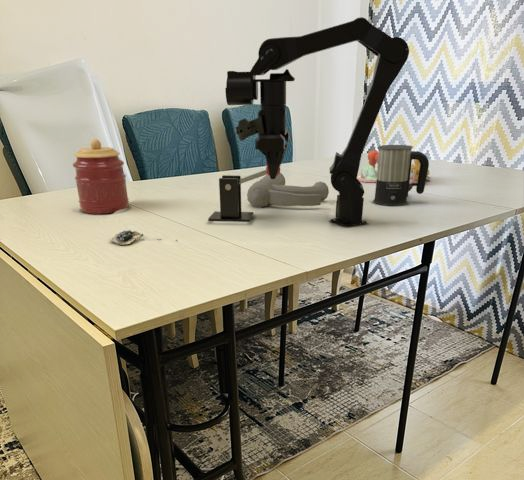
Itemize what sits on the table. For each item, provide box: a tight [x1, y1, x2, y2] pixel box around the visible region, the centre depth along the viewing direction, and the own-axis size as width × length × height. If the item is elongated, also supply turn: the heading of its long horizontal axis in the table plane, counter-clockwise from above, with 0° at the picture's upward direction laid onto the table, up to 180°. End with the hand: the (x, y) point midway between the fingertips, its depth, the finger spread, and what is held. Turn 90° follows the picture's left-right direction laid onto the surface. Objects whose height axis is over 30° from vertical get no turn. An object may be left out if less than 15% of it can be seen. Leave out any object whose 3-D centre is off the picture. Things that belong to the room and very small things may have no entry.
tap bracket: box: [207, 174, 254, 223], centre depth 125 cm, size 10×8×10 cm
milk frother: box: [373, 144, 430, 206], centre depth 144 cm, size 14×16×15 cm
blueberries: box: [110, 229, 144, 246], centre depth 112 cm, size 7×8×2 cm
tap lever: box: [238, 164, 281, 185], centre depth 122 cm, size 14×3×3 cm, turn 85°
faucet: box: [246, 172, 330, 208], centre depth 144 cm, size 7×21×26 cm
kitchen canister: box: [72, 138, 130, 215], centre depth 135 cm, size 13×13×18 cm
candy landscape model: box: [357, 149, 432, 184], centre depth 174 cm, size 25×24×9 cm
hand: (273, 177), depth 122 cm, fingers closed on tap lever, 3 cm apart
